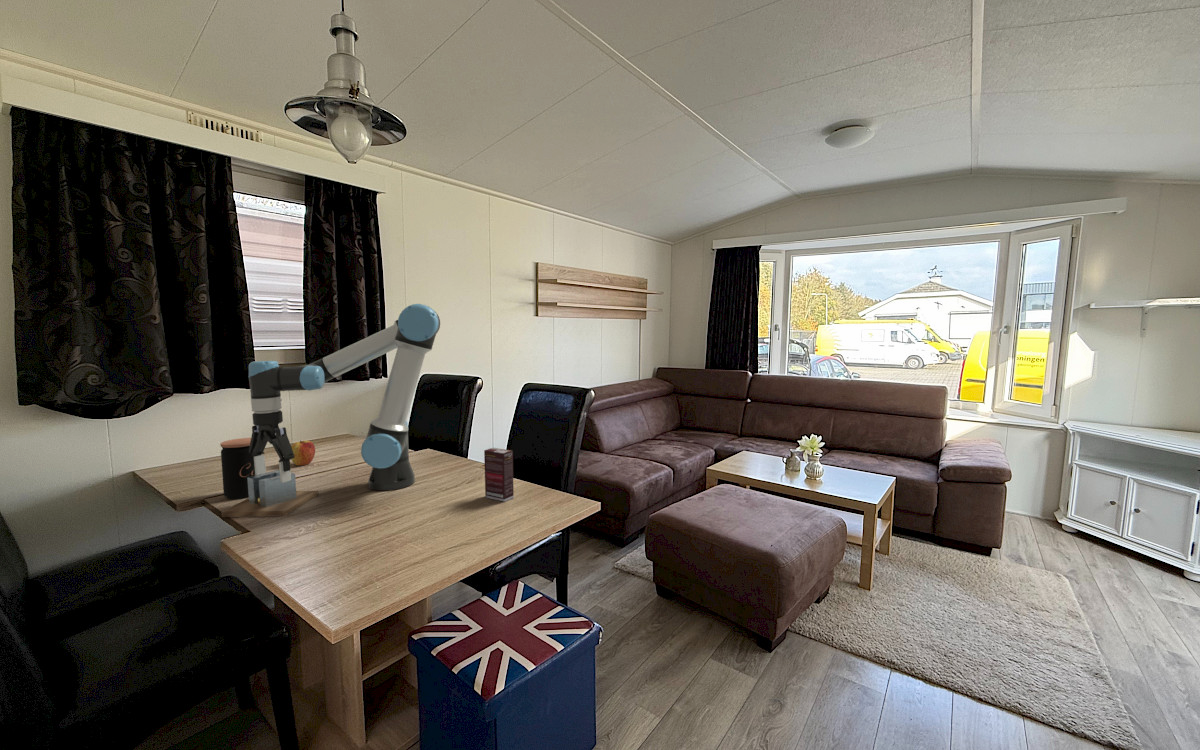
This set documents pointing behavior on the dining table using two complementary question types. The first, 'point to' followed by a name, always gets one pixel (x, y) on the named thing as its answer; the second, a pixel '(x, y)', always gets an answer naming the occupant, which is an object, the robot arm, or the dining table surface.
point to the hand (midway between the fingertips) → (273, 478)
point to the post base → (276, 510)
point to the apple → (303, 452)
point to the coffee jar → (236, 467)
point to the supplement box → (499, 474)
